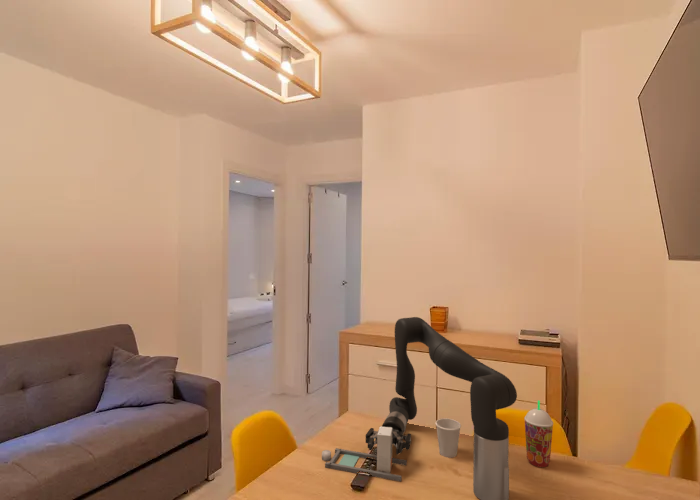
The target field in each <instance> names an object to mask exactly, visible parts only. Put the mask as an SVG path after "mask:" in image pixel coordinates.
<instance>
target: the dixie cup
mask: <svg viewBox="0 0 700 500" xmlns="http://www.w3.org/2000/svg"><path fill="white" fill-rule="evenodd" d="M435 426H436V435H437V443H438V444H437V445H438V452H439V454H440V455H441V457H445V458H449V459H450V458H455V457H457V455H458V448H459V447H458V446H459V439H460V433H461V432H460V431H461V428H462V424H461V423H460V421H457V420H455V419H453V418H448V417H447V418H446V417H445V418H439V419H437V420H436V421H435Z"/></svg>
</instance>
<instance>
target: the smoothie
mask: <svg viewBox="0 0 700 500" xmlns="http://www.w3.org/2000/svg"><path fill="white" fill-rule="evenodd" d="M553 427H554V421H553V420H552V418H551V416H550V414H549V413H548V412H547V411H545V410H544V409H542V408H541V401H540V400H537V407H536V408H532V409H530V410H529V411H527V413H526V415H525V416H524V431H525V446H526V449H525V450H526V452H525V453H526V458H527V459H528V463H529V464H531V465H532V466H535V467H538V468H546V467H548V465H549V464H550V462H551V455H552V454H551V451H552V440H553Z"/></svg>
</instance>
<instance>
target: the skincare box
mask: <svg viewBox="0 0 700 500" xmlns="http://www.w3.org/2000/svg"><path fill="white" fill-rule="evenodd" d="M376 455H377V460H376V471H378V472H384V473H389V474H392V473H391V471H392V466H393V463H392V458H393V444H392V428H391V427H382V425H381V426H379V428H378V434H377V444H376Z"/></svg>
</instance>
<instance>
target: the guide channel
mask: <svg viewBox="0 0 700 500" xmlns="http://www.w3.org/2000/svg"><path fill="white" fill-rule="evenodd" d="M341 455H342V457H341V458H340V461H339V462H338V463H336V462H337V460H338V459H339V457H340V456H341ZM367 457H375V458H377V454H371V453H366V452H362V451H355V450H349V449H342V448H337V447H336V448H335V449H334V454H333V456H332V451H331V450H329V449H325V450H322V451H321V460H322V461H325V463H324V468H327V469H331V470H337V471H342V472H347V473H353V474H358V473H357V472H359V471H363V472H368V473H370V474H371V475H372V476H371V477H375V478H379V479H386V480H390V481H395V482H400V483H401V482H402V475H399V474H393V473H390V474H389V473H384V472H378V471H377V470H371V469H367V468H361V467H355V465H356V464H357V462H358V461H359V459H360V458H362V459H366V458H367ZM407 461H408V460H407V459H401V458H397V457H396V458H395V457H392V464H393V465H394V464H395V465H399V466H400V465H401V466H407V463H408V462H407Z"/></svg>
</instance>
